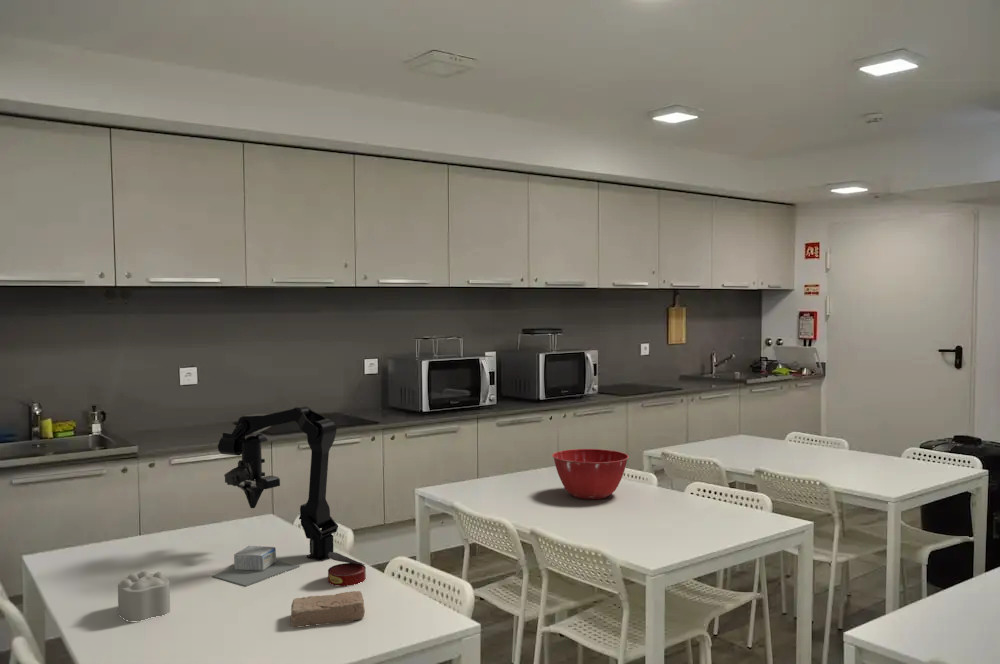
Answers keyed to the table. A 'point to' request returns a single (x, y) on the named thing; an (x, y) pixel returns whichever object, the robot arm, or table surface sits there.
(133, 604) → the lumpy-topped squat cylinder
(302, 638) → the table surface
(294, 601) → the brick
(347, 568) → the canned food
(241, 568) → the medicine box
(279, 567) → the mat
